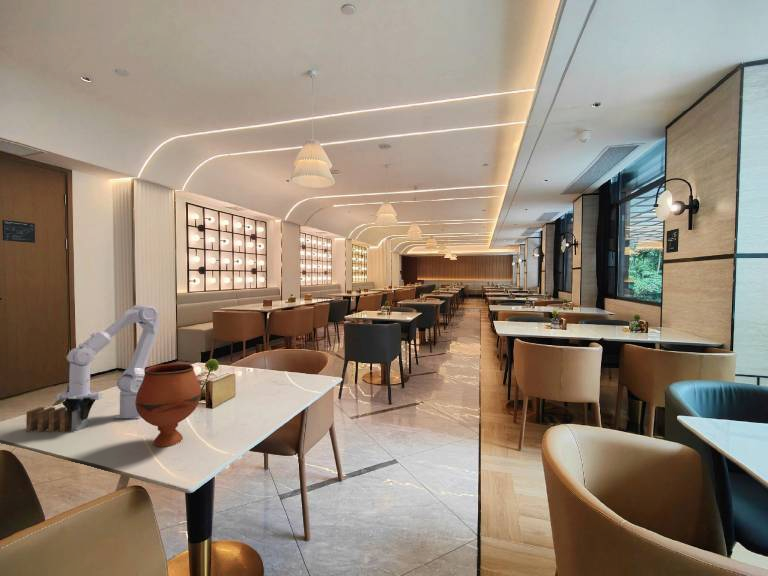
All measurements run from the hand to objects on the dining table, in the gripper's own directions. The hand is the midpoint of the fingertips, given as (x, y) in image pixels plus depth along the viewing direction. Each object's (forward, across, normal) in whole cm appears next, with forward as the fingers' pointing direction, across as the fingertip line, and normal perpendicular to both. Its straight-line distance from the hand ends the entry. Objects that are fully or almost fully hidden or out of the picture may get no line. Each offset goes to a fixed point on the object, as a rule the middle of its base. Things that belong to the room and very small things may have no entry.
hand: (79, 419), depth 129 cm
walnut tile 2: (+4, -4, 0) cm, 5 cm away
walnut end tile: (+4, -15, 0) cm, 16 cm away
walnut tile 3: (+4, -8, 0) cm, 8 cm away
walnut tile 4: (+4, -11, 0) cm, 12 cm away
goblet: (+4, +37, -10) cm, 39 cm away
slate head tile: (+4, 0, 0) cm, 4 cm away
